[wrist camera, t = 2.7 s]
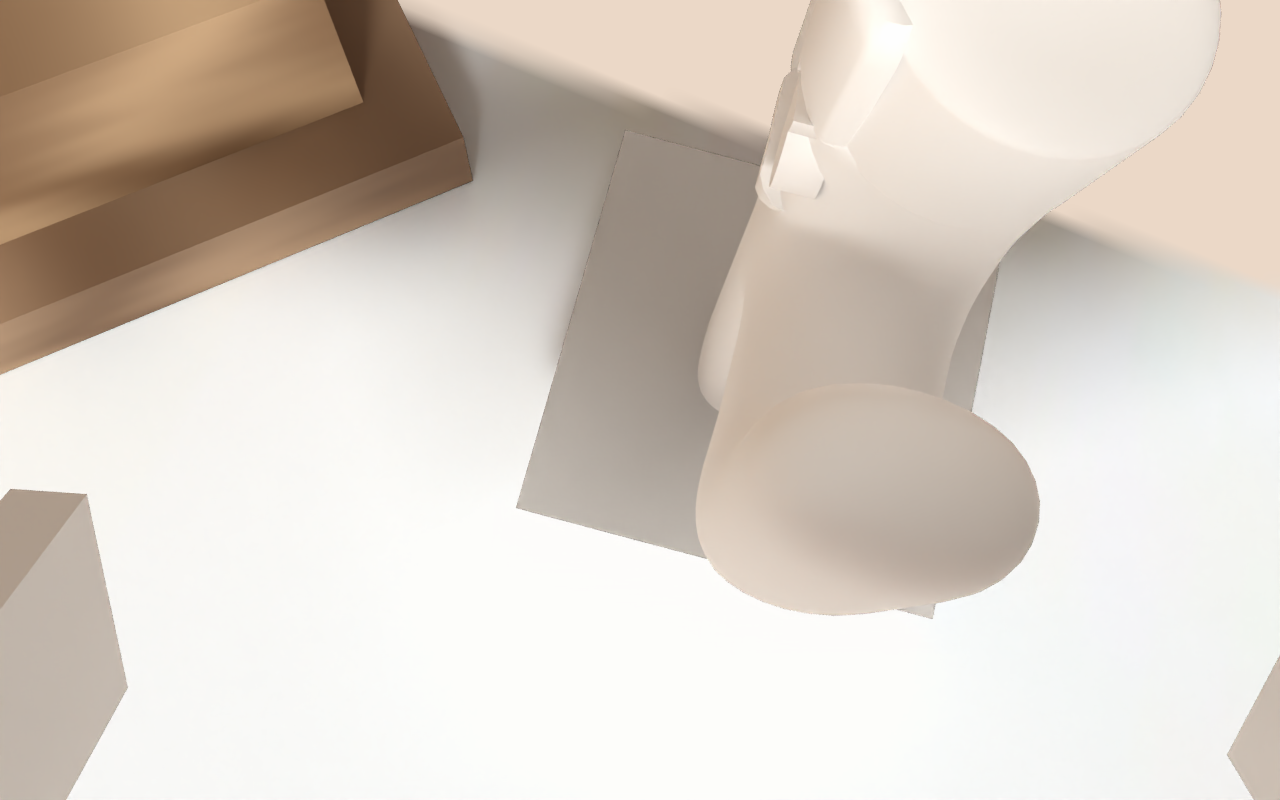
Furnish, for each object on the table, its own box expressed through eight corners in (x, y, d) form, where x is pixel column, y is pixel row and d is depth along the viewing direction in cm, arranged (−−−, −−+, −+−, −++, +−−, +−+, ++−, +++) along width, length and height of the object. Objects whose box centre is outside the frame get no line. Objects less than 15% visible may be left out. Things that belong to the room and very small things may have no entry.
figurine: (949, 249, 24) (1550, -407, 9) (863, 680, 21) (1477, 729, 7) (630, 165, 24) (718, -624, 9) (510, 586, 21) (370, 433, 7)
